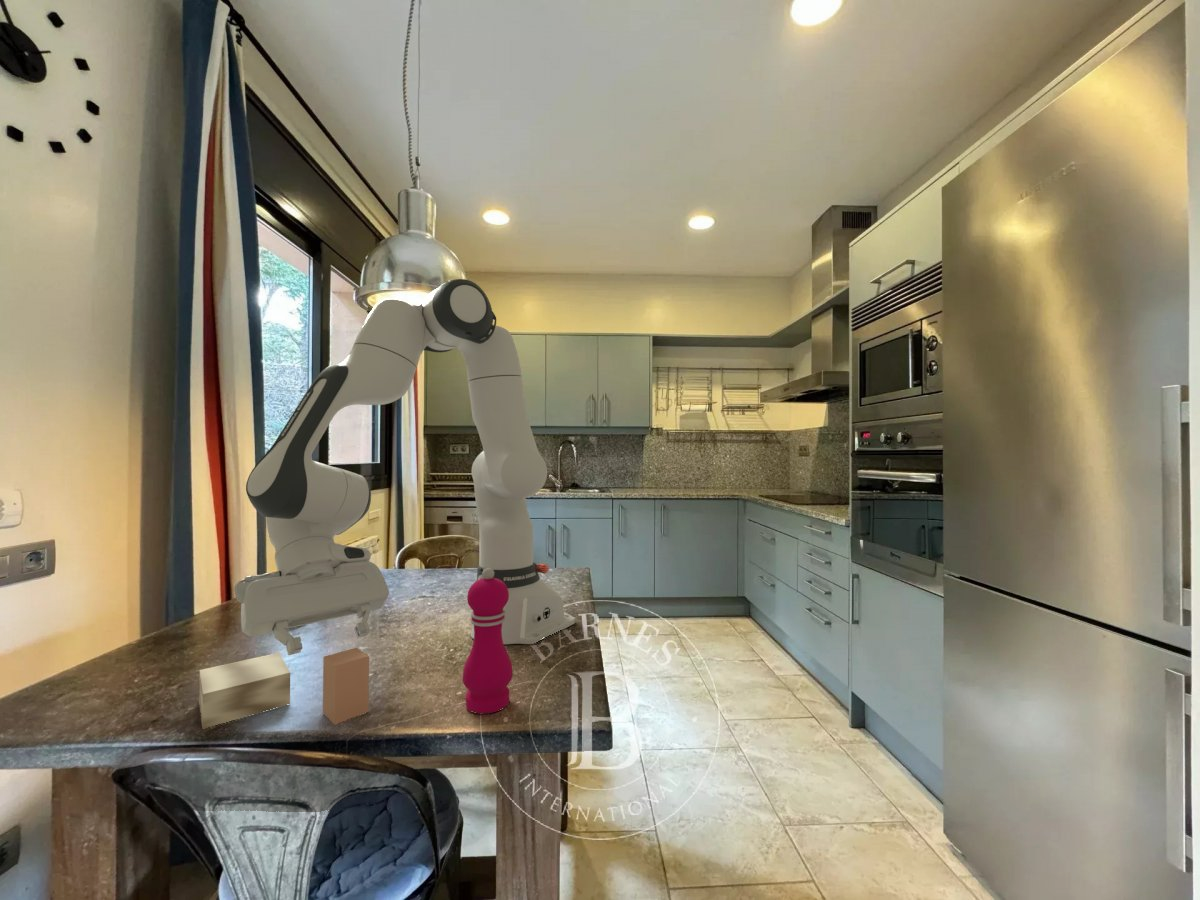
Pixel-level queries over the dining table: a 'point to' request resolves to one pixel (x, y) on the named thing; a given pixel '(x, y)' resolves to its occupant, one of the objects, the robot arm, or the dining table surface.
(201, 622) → the dining table surface
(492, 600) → the pepper mill
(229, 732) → the dining table surface
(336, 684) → the terracotta block
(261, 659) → the birch block
